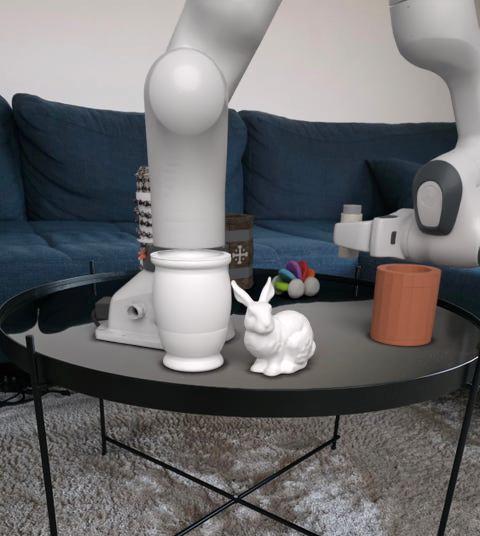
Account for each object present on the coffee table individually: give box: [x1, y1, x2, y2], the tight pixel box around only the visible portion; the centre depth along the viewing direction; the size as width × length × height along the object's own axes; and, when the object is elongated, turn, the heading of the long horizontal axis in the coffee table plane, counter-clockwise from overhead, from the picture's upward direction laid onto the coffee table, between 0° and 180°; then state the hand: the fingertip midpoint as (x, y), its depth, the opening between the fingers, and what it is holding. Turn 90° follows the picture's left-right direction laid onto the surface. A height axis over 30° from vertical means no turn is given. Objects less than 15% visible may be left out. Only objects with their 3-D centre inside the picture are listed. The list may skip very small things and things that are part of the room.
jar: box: [150, 249, 232, 373], centre depth 80 cm, size 11×10×15 cm
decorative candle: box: [132, 165, 153, 272], centre depth 115 cm, size 9×9×25 cm
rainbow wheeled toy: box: [271, 259, 321, 300], centre depth 124 cm, size 8×10×7 cm
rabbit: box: [231, 276, 317, 377], centre depth 80 cm, size 12×9×12 cm
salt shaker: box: [337, 204, 363, 259], centre depth 114 cm, size 4×4×10 cm
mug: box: [225, 212, 255, 292], centre depth 132 cm, size 20×14×15 cm
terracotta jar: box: [369, 263, 442, 347], centre depth 94 cm, size 10×10×11 cm
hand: (346, 228), depth 115 cm, fingers closed on salt shaker, 4 cm apart
